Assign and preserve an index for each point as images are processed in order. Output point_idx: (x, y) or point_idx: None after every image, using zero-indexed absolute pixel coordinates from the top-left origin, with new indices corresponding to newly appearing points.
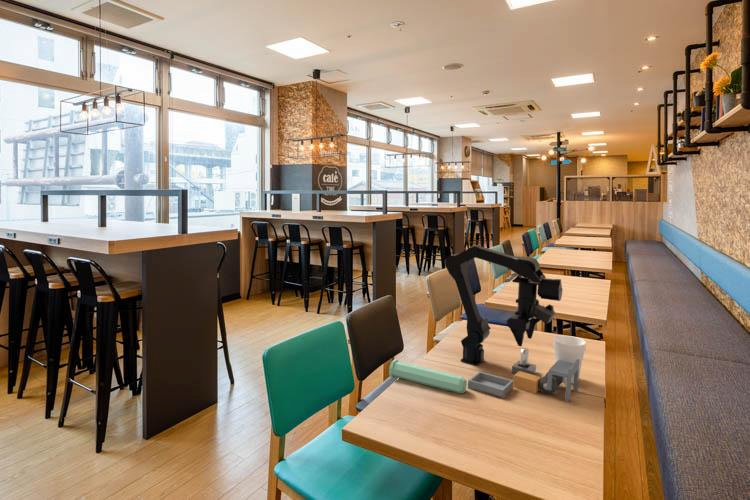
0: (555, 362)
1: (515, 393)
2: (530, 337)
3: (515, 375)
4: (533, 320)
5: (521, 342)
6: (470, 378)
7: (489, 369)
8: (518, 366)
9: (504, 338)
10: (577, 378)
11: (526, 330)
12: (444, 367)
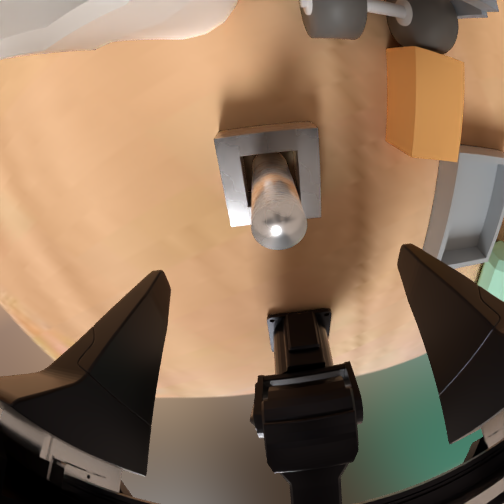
0: (194, 27)
1: (465, 124)
2: (161, 280)
3: (457, 155)
4: (82, 429)
5: (440, 262)
6: (479, 263)
7: (333, 271)
8: (305, 193)
9: (77, 334)
10: None
11: (160, 353)
12: (383, 339)
